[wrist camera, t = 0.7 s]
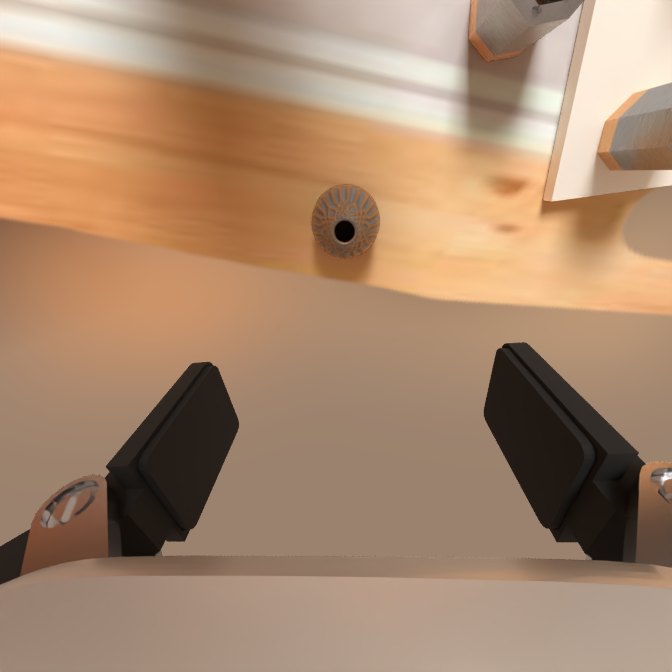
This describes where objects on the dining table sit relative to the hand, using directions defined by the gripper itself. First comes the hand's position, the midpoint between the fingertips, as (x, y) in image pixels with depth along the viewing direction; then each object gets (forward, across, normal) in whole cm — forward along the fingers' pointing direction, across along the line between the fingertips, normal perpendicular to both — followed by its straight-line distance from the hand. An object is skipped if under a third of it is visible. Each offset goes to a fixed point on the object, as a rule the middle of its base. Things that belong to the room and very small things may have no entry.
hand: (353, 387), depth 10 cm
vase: (+27, 0, -2) cm, 27 cm away
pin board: (+27, -26, -14) cm, 40 cm away
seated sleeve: (+25, -26, -7) cm, 37 cm away
